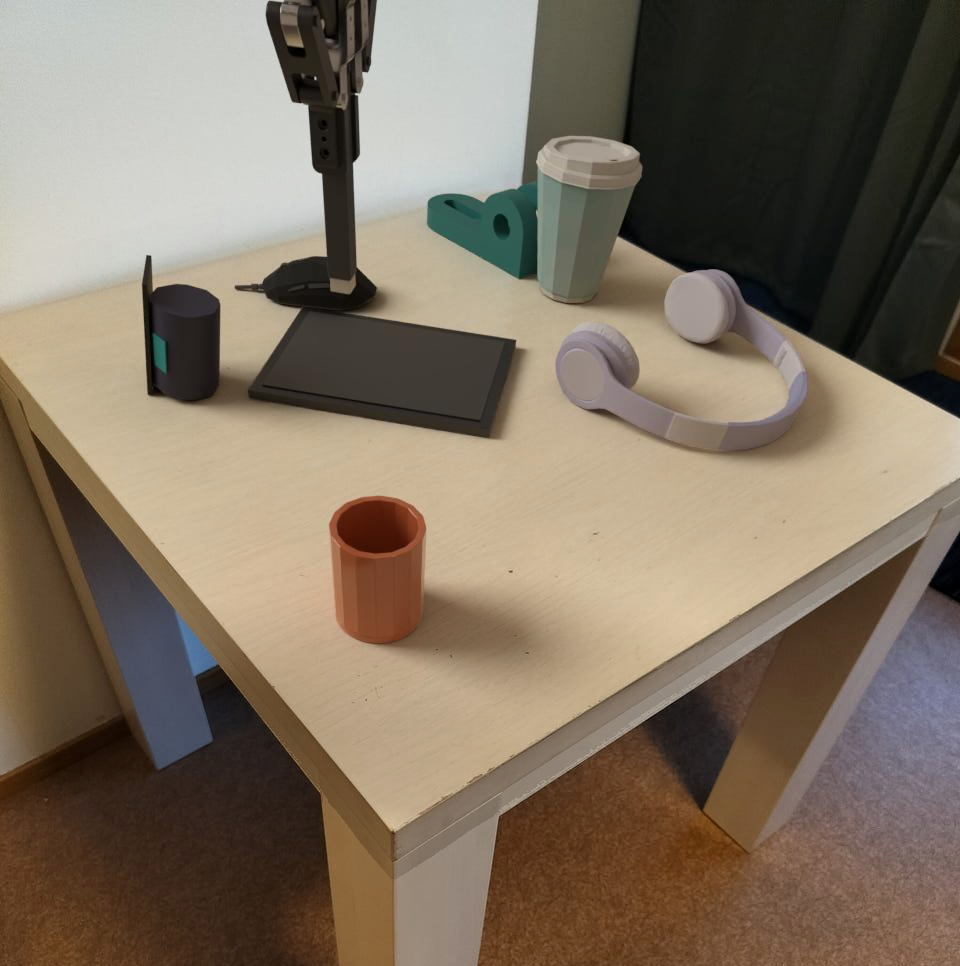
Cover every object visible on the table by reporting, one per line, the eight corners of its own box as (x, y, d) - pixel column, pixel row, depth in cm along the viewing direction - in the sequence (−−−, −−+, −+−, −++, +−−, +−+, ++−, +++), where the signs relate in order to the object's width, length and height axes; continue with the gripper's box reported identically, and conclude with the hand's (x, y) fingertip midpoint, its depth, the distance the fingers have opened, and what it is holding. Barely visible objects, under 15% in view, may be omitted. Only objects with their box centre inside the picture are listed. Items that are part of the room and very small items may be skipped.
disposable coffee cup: (505, 275, 100) (519, 128, 89) (588, 262, 104) (611, 120, 93) (549, 320, 94) (570, 169, 83) (636, 305, 98) (667, 159, 87)
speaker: (124, 393, 79) (110, 280, 72) (152, 363, 83) (142, 252, 76) (207, 414, 79) (202, 303, 72) (231, 383, 83) (228, 275, 76)
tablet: (248, 398, 81) (247, 388, 80) (303, 314, 91) (302, 304, 91) (488, 438, 79) (489, 428, 78) (515, 347, 90) (516, 338, 89)
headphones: (539, 385, 85) (710, 496, 77) (553, 317, 80) (738, 430, 72) (675, 313, 97) (834, 403, 89) (694, 250, 91) (866, 340, 84)
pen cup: (324, 634, 62) (317, 548, 56) (348, 575, 66) (344, 488, 60) (411, 650, 62) (413, 565, 56) (430, 589, 66) (434, 504, 60)
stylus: (328, 292, 61) (315, 77, 52) (335, 281, 63) (324, 69, 53) (351, 295, 61) (342, 81, 52) (357, 285, 62) (350, 73, 53)
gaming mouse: (241, 275, 96) (236, 237, 93) (379, 286, 96) (379, 249, 93) (228, 303, 92) (223, 265, 89) (373, 315, 92) (372, 277, 89)
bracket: (560, 263, 103) (570, 192, 98) (518, 278, 100) (526, 206, 94) (457, 208, 112) (460, 139, 106) (415, 220, 108) (416, 150, 102)
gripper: (290, -233, 48) (313, 121, 61) (184, -211, 39) (238, 200, 52) (426, -218, 47) (421, 137, 60) (351, -193, 38) (364, 219, 51)
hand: (336, 165), depth 56 cm, fingers closed on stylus, 1 cm apart
